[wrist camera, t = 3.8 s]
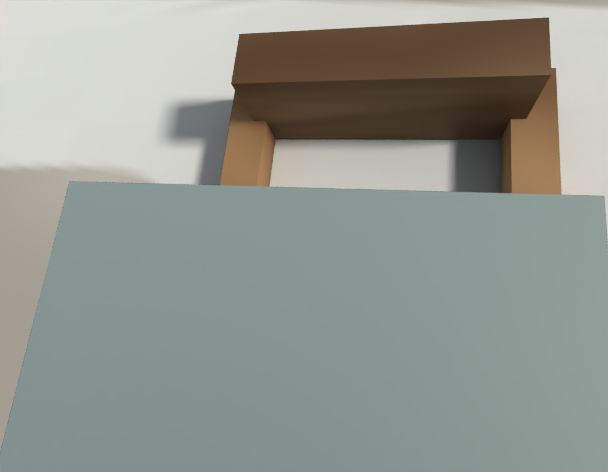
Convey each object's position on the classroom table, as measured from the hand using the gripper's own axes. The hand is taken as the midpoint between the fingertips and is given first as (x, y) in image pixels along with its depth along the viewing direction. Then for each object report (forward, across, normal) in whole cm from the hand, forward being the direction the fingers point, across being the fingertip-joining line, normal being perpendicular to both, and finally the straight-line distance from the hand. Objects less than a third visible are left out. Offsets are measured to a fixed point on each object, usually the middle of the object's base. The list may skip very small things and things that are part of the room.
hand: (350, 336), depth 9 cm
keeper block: (+4, 0, +6) cm, 7 cm away
